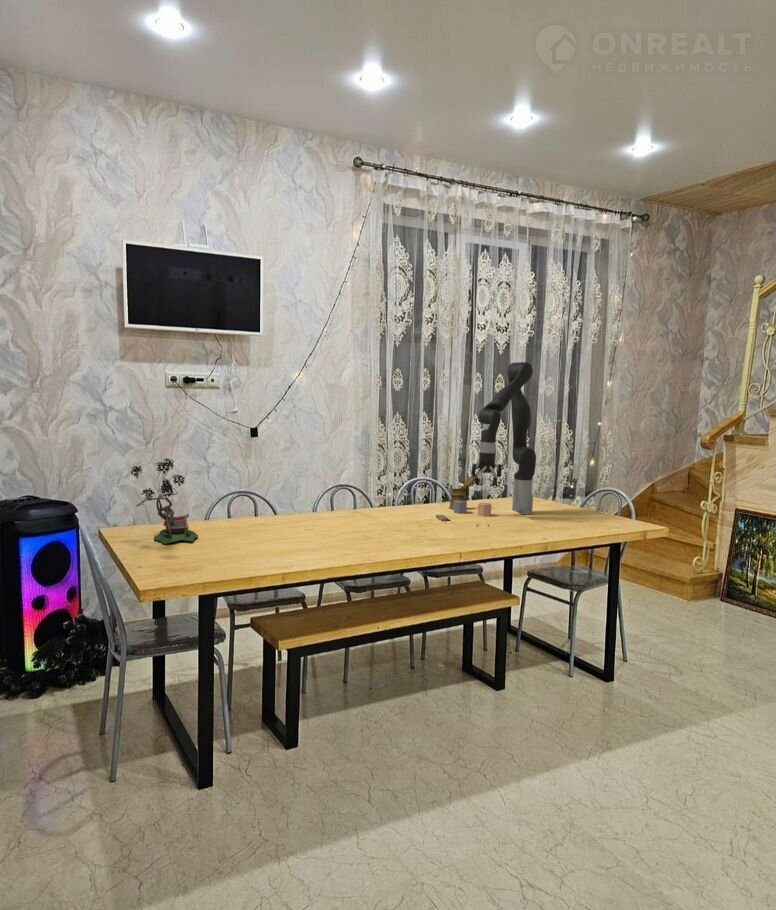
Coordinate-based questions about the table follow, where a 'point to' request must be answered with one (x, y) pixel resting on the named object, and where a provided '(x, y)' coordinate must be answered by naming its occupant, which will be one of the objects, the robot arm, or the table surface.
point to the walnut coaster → (442, 518)
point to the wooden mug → (461, 492)
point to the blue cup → (460, 506)
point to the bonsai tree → (174, 525)
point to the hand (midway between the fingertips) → (485, 485)
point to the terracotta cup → (484, 509)
